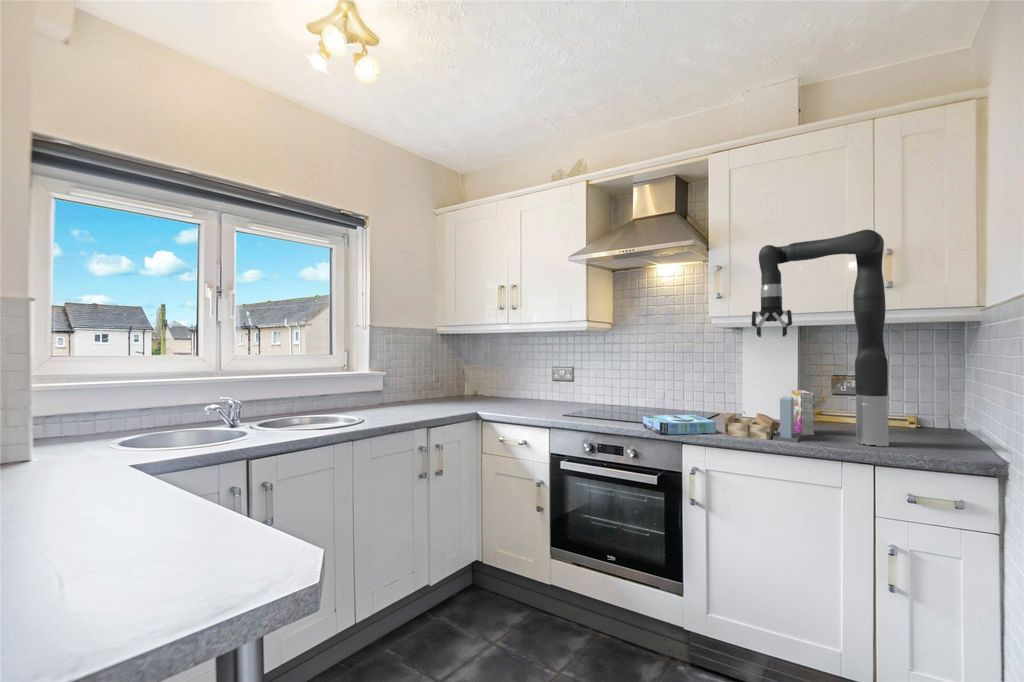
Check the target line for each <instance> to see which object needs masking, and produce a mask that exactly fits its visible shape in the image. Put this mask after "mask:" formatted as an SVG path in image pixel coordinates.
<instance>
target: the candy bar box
mask: <svg viewBox="0 0 1024 682" xmlns="http://www.w3.org/2000/svg"><path fill="white" fill-rule="evenodd" d="M790 394H791V395H790V397H794V433H801V436H815V393H813V392H809V391H806V390H803V389H802V390H801V389H800V390H799V389H797V390H796V389H794V390H791V393H790Z"/></svg>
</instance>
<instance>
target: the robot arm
mask: <svg viewBox="0 0 1024 682" xmlns="http://www.w3.org/2000/svg"><path fill="white" fill-rule="evenodd" d="M884 247H885V241H884V238H883V236H882V235H881V234H880V233H878V232H877V231H875V230H873V229H862V230H858V231H855V232H852V233H848V234H844V235H839V236H835V237H829V238H823V239H814V240H808V241H807V240H806V241H798V242H793V243H790V244H788V245H783V246H775V245H772V244H768V245H767V244H766V245H764V246H763V247H761V249H760V250H759V253H758V263H759V269H760V273H761V278H760V280H761V284H760V285H761V288H760V311H752V313H751V326H752V327H753V328H754V327H755V328H756V336H757V337H758V338H762V325H764V323H766V322H768V323H769V322H775V323H776V322H779V324H781V325H782V337H784V338H785V337H786V336H788V327H791V326H792V325H793V316H792V315H793V314H792V311H791V309H787V310H783V289H782V287H783V286H782V272H781V270H780V269H779V265H781V264H784V263H785V264H786V263H789V262H800V261H808V260H814V259H820V258H824V257H828V256H834V255H835V256H836V255H854V256H855V261H856V279H855V284H854V289H853V296H852V297H853V298H852V299H853V300H852V301H853V315H854V317H853V318H854V323H855V326H856V331H857V338H858V339H857V352H856V353H857V354H856V357H855V360H854V378H855V379H854V386H855V387H854V388H855V442H857V443H856V444H859V443H860V444H859V445H863V444H865V446H870V445H876V446H875V447H890V445H889V444H890V443H889V442H890V439H889V437H890V433H889V428H890V427H889V423H890V422H889V396H888V394H889V379H888V378H889V372H888V371H889V363H888V358H887V356H886V350H885V342H884V329H885V328H884V327H885V322H886V321H885V320H886V292H885V291H886V290H885V282H884V281H885V280H884V275H883V258H884V257H883V255H884ZM784 314H785V316H786V317H787V322H785V321H784V319H782V316H784ZM759 315H760V316H761V319H759V322H758V323H757V317H759Z"/></svg>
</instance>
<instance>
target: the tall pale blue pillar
mask: <svg viewBox="0 0 1024 682" xmlns="http://www.w3.org/2000/svg"><path fill="white" fill-rule="evenodd" d="M779 422H780V426H779V432H780V437H785V438H791V437H792V436H793V434H794V433H795V431H794V397H791V396H783V395H782V397H781V398H779Z"/></svg>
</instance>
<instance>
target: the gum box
mask: <svg viewBox="0 0 1024 682" xmlns="http://www.w3.org/2000/svg"><path fill="white" fill-rule="evenodd" d="M716 424H717V422H716V421H715V420H711V419H708V418H705V417H702V416H700V415H697V414H668V415H666V414H665V415H664V414H663V415H660V414H659V415H643V417H642V427H643V426H645V427H644V428H646V427H647V428H646V429H648V428H649V430H650V431H652V432H655V433H657V434H658V435H695V434H697V435H698V434H700V435H702V433H707V434H716V433H717V432H716V431H717V427H716V426H717V425H716Z"/></svg>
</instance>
